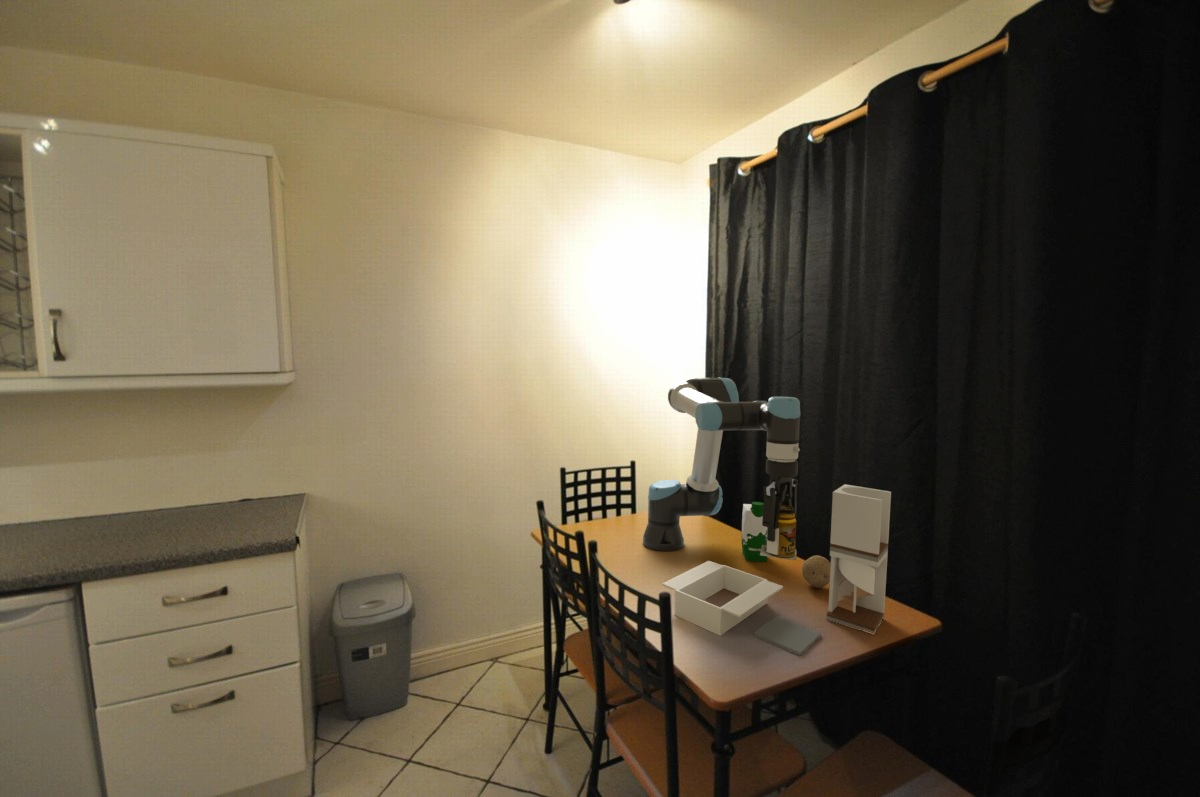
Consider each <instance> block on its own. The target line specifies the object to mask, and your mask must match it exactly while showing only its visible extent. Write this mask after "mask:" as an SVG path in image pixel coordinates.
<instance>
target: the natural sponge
mask: <svg viewBox="0 0 1200 797" xmlns="http://www.w3.org/2000/svg"><path fill="white" fill-rule="evenodd" d="M830 568H831V561H829V560H828V559H827V558H826V557H824V556H821V555H812V556H810V557H808V558H807V559H806V560H805V561H804V562H803V564H802V567H801V573H802V577H803V579H804V580H805V581H806V582H807V583H808V584H810V585H811V586H812V587H814V588H815V589H821V588H823V587H824V588H825V586H827V585H828V584H830Z"/></svg>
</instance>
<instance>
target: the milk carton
mask: <svg viewBox="0 0 1200 797" xmlns="http://www.w3.org/2000/svg"><path fill="white" fill-rule="evenodd" d="M763 505H764V502H761V501H752V502H751V503H743V504H742V514H741V515H742V517H741V518H742V519H741V551H742V553H741V554H742V555H743V557H744V559H745V561H746V562H760V563H761V562H762V563H767V562H768V556H761V555H760V552H761V548H762V545H767V527H765V526H763V525H762V520H763Z"/></svg>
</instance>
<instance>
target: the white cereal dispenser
mask: <svg viewBox="0 0 1200 797" xmlns="http://www.w3.org/2000/svg"><path fill="white" fill-rule="evenodd" d="M891 499H892V491H889V490H882V489H876V488H870V487H863V486H857V485H851V484H845V483H844V484H843V485H842V486H839V487H838V488H837V489H835V490H834V491H832V501H831V503H832V504H831V521H830V522H831V523H830V527H831V528H830V544H829V545H830V546H829V557H830V563H831V568H830V582H829V593H828V611H827V612H826V621H828V620H830V621H829V622H831V621H833V622H832V623H834V622H836V623H835V624H837V623H839V624H838V625H840V624H843V625H847V626H849V627H853V628H857V629H861V630H865V631H868V632H871V633H874V632H875V630H876V629H877V627H878V626H879V624H880V623H881V621H882V619H883V618H884V619H885V603H886V589H887V588H886V585H887V571H888V570H887V569H888V568H887V567H888V555H889V554H888V553H889V549H888V548H889V536H890V520H891V519H890V518H891V501H892V500H891ZM882 622H883V621H882ZM881 624H882V623H881ZM843 625H842V626H843ZM849 627H848V628H849ZM879 627H880V626H879ZM877 630H878V629H877Z"/></svg>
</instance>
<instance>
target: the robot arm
mask: <svg viewBox="0 0 1200 797" xmlns="http://www.w3.org/2000/svg"><path fill="white" fill-rule="evenodd" d="M668 390H669V391H668V393H667V401H668V404H669V405H670V407H671V408H672V409H673V410H675V411H676V412H678V413H681V414H688V415H689V416H690V417H692V418H693V419H695V423H696V425H697V434H696V441H695V448H694V455H693V463H692V471H691V474H690V475H689V476H687V478H686V483H683V484H681V482H680V481H679V480H676V479H663V480H662V479H661V480H658V481H654V482H653V483H651V484H650V485H649V488H648V493H647V494H648V495H647V501H648V503H647V504H648V505H647V506H648V507H647V509H648V510H647V512H648V513H647V525H646V528H645V531H644V533H643V537H642V545H644V546H645V547H646V548H648V549H650V550H654V551H659V552H660V551H661V552H672V551H679V550H681V549H682V548H684V544H685V538H684V536H683V532H682V529H681V524H680V520H681V519H680V518H681V517H694V516H695V517H697V516H699V517H700V516H703V517H707V516H714V515H716V514H718V513H719V511H720V510H721V508H722V506H723V505H722V504H723V500H724V498H723V489H722V487H721V485H720V484H719V482H718V480H717V478H716V476H717V470H718V464H719V457H720V452H721V451H720V450H721V446H722V445H721V444H722V439H723V432H724V431H764V432H766V447H765V448H766V452H765V456H766V457H767V459H766V460H765V473H766V474H767V476H768V475H769V476H770V479H769V480H770V481H769V485H768V486H763V503H764V505H763V520H762V525H763V526H765V527H767V552H768V553H772V554H775V555H778V546H779V528H777V525H778V520H779V514H780V509H781V505H787V506H791V507H793V508H794V509H795V517H794V518H795V519H797V516H798V514H797V513H798V512H797V511H798V510H797V509H798V500H797V499H798V494H797V493H798V483H799V480H798V479H795V477H797V476H798V474H799V472H798V471H799V462H798V460H797V459H798V458H799V452H800V451H801V449H800V447H799V445H800V444H799V440H800V425H801V422H800V421H801V413H802V412H801V405H800V404H801V402H800V400H799V398H797V397H794V396H793V397H792V396H771V397H769V398H768V399H767V400H768V401H767V400H754V401H753V400H752V401H740V399H739V392H738V388H737V385H736V383H735V382H734V381H733V379H731V378H727V377H719V376H718V377H687V378H683V379H680V380H678V381H676V382H675V383H673V385H672V386H671V387H670V388H669V389H668Z"/></svg>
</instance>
